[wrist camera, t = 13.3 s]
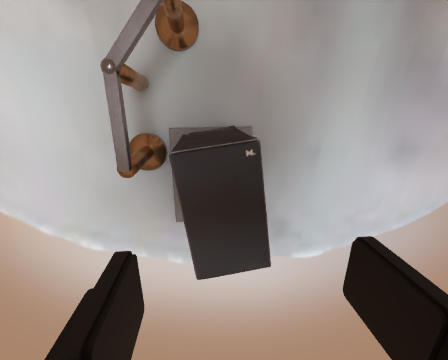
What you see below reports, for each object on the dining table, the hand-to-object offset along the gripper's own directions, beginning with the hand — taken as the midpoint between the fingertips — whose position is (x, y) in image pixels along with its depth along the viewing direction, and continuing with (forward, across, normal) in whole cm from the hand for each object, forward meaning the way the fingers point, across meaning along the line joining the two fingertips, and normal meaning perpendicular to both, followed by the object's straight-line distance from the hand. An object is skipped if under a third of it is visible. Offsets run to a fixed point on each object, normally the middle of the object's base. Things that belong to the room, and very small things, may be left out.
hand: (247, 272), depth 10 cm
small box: (+17, 0, +1) cm, 17 cm away
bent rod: (+18, +6, -8) cm, 20 cm away
